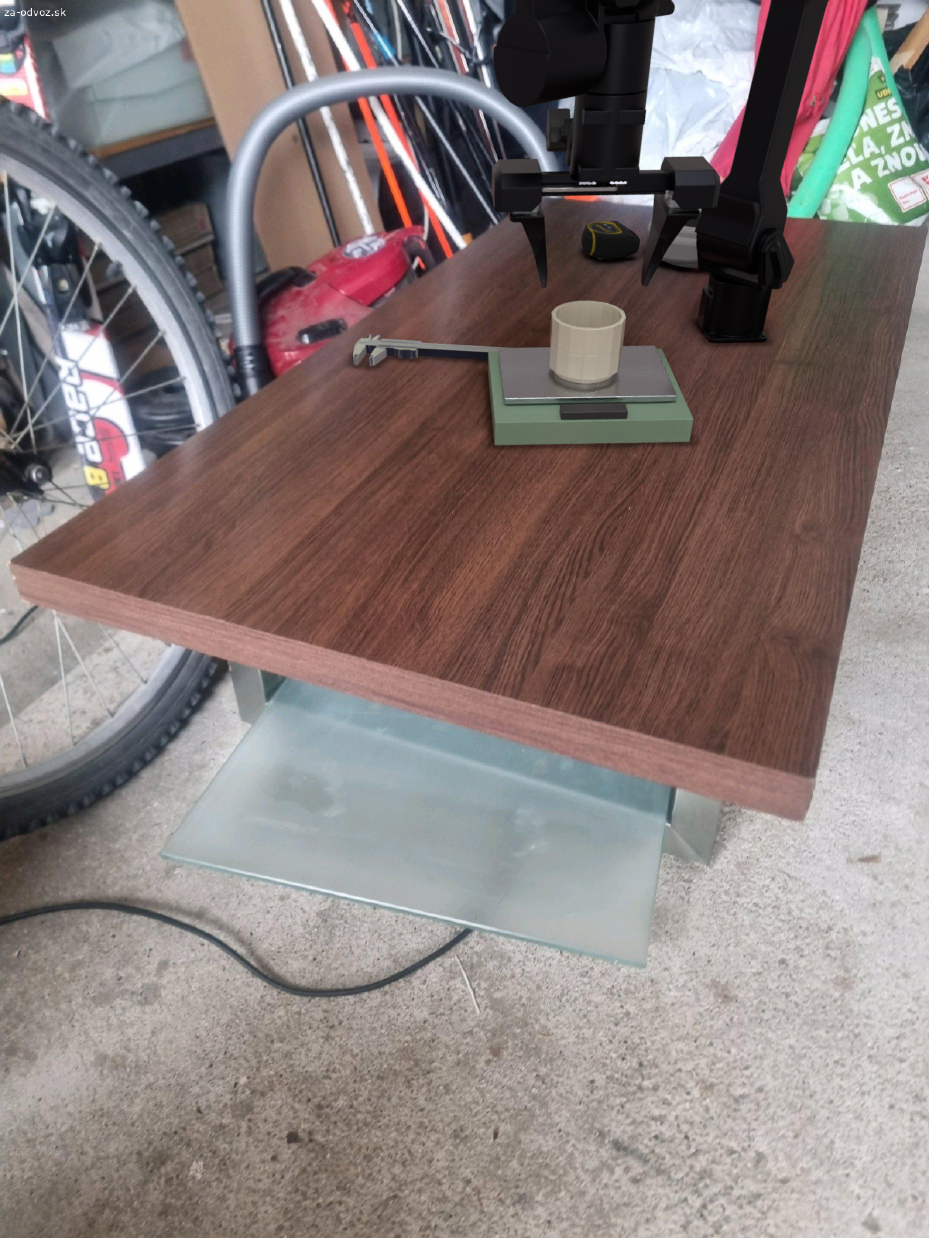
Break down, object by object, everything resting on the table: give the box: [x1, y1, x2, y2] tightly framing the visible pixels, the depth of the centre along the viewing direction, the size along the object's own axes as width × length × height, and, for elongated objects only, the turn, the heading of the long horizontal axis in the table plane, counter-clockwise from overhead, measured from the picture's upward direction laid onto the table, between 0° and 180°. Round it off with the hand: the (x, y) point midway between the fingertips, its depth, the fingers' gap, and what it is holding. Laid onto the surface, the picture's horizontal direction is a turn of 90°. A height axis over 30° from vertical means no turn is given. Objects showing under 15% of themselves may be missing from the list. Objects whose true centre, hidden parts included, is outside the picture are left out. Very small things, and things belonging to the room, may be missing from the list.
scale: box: [487, 348, 694, 446], centre depth 84 cm, size 18×15×3 cm
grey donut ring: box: [645, 209, 701, 269], centre depth 114 cm, size 17×6×15 cm
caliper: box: [352, 333, 505, 367], centre depth 94 cm, size 20×1×6 cm
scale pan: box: [498, 345, 677, 404], centre depth 84 cm, size 16×11×1 cm
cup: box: [549, 300, 627, 384], centre depth 82 cm, size 7×7×6 cm
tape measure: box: [580, 220, 641, 261], centre depth 116 cm, size 7×7×4 cm
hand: (593, 285), depth 79 cm, fingers open, 9 cm apart
